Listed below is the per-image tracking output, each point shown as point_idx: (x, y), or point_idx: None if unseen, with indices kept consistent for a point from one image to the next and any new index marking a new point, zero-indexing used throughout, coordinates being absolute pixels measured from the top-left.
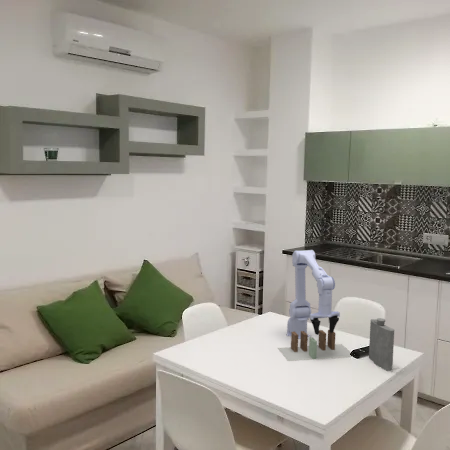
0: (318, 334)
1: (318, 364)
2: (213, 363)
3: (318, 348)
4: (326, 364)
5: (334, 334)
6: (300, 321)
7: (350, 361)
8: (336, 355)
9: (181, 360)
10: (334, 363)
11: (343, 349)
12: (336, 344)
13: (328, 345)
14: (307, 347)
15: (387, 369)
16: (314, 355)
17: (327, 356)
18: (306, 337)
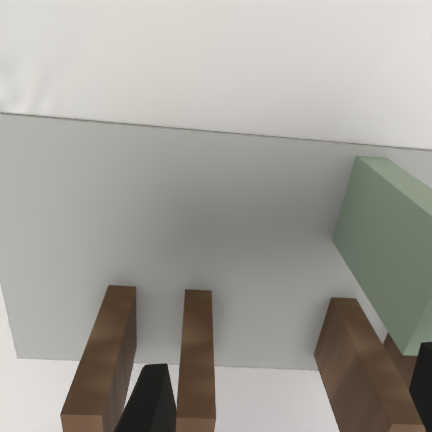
0: (425, 346)
1: (412, 35)
2: None
3: (221, 325)
4: (340, 11)
5: (77, 398)
6: None
7: (61, 19)
8: (146, 178)
9: None
10: (249, 14)
11: (35, 276)
12: (57, 358)
13: (134, 341)
14: (285, 351)
15: None
16: (387, 167)
17: (235, 177)
18: (389, 395)
